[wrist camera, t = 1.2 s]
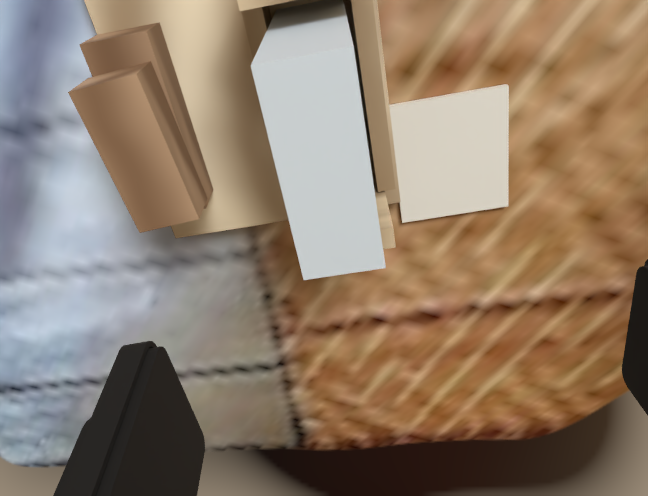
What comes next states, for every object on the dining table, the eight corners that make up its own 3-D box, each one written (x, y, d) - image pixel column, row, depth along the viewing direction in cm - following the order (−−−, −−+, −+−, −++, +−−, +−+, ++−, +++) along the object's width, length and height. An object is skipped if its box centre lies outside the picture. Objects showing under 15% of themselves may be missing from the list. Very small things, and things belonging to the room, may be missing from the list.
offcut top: (150, 61, 27) (136, 73, 25) (207, 198, 31) (199, 219, 29) (87, 78, 28) (68, 92, 25) (151, 211, 32) (139, 232, 30)
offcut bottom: (159, 22, 28) (146, 31, 26) (213, 189, 34) (206, 208, 32) (97, 34, 29) (79, 44, 27) (160, 198, 34) (149, 217, 32)
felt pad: (506, 84, 31) (508, 86, 31) (506, 203, 36) (508, 206, 35) (387, 105, 32) (388, 107, 32) (401, 219, 36) (402, 222, 36)
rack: (364, -90, 27) (379, -89, 20) (398, 193, 35) (416, 263, 28) (82, -30, 28) (4, -10, 21) (179, 229, 37) (146, 303, 30)
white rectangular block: (342, -4, 28) (353, 46, 18) (365, 156, 33) (385, 268, 22) (276, 9, 28) (250, 65, 18) (309, 165, 33) (303, 280, 23)
